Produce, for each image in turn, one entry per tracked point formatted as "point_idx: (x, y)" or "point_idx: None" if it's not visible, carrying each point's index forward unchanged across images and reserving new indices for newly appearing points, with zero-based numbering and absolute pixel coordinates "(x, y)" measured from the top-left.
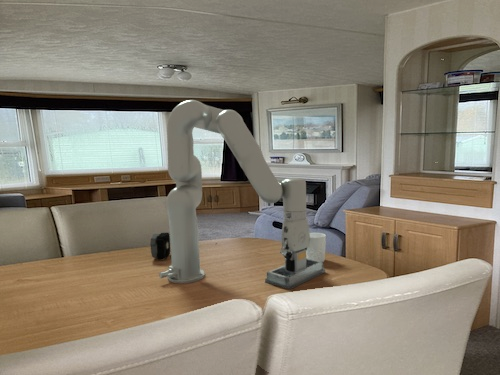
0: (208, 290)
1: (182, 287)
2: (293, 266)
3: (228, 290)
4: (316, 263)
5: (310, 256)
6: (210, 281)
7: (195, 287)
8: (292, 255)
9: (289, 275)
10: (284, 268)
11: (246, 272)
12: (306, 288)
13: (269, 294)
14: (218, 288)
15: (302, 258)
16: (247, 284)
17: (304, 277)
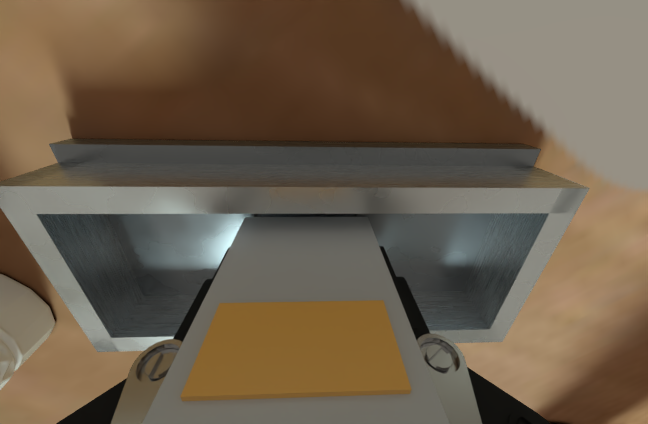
0: (620, 370)
1: (607, 416)
2: (395, 277)
3: (607, 334)
4: (89, 212)
5: (8, 342)
6: (533, 405)
7: (599, 401)
8: (456, 403)
9: (518, 210)
10: None
11: None
12: (454, 54)
13: (627, 190)
14: (593, 362)
15: (292, 302)
16: (519, 327)
17: (331, 166)
